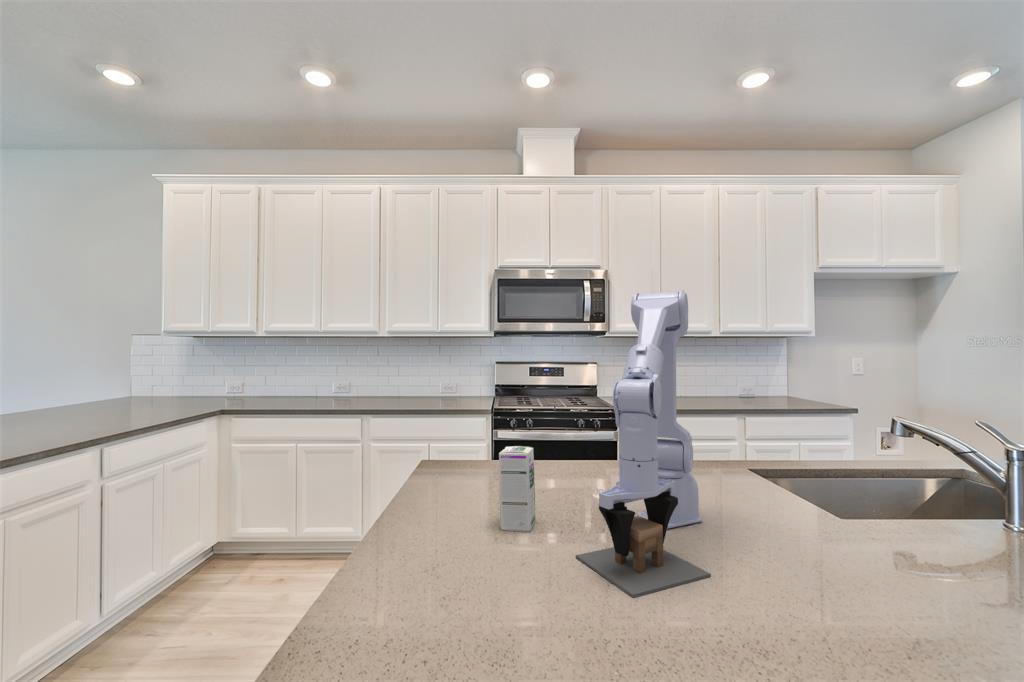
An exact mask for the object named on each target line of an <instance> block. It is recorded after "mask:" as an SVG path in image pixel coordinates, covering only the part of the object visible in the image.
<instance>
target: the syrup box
mask: <svg viewBox="0 0 1024 682" xmlns="http://www.w3.org/2000/svg"><path fill="white" fill-rule="evenodd" d="M534 458H535V456H534V447H532V446H527V445H526V446H524V445H514V446H505V447H504V449H502V450H501V451H500V452H499V453H498V463H499V464H498V467H499V468H498V471H499V473H498V474H499V476H498V477H499V504H500V505H499V509H500V510H499V511H500V512H499V513H500V516H499V517H500V519H499V520H500V529H501V530H502V531H510V532H528V533H530V532H531V530H532V528H533V527H534V524H535V523H536V495H535V494H536V491H535V490H536V489H535V461H534V460H535V459H534Z"/></svg>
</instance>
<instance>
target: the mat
mask: <svg viewBox="0 0 1024 682" xmlns="http://www.w3.org/2000/svg"><path fill="white" fill-rule="evenodd" d="M575 558H576V560H578V561H579V562H581V563H582V564H584V565H585V566H587V567H588V568H590V569H591V570H592V571H594V572H595V573H596V574H598V575H600V576H601V577H602V578H604V579H605V580H607V581H608V582H609V583H611V584H613V585H614V586H615V587H616V588H618V589H619V590H621V591H622V592H623V593H625V594H627V595H628V596H629V597H631V598H633V599H634V598H638V597H641V596H645V595H649V594H652V593H655V592H660V591H663V590H667V589H670V588H675V587H679V586H680V585H681V586H682V585H685V584H688V583H692V582H696V581H699V580H703V579H707V578H711V576H712V573H710V572H708V571H706V570H704V569H703V568H701V567H699V566H698V565H695V564H693V563H690V562H688V560H684V559H683V558H682V557H679V556H677V555H675V554H673V553H672V552H669V551H667V550H666V549H663V566H661V567H656V566H653V565H652V558H651V552H650V553H647V554H645V571H646V572H644V573H641V574H639V573H637V572H635V571H634V569H633V553H632V552H630V551H629V554H628V556H626V559H627V562H626V563H623V564H619V563H617V562H615V549H614V546H613V547H609V548H608V547H607V548H604V549H599V550H595V551H593V550H592V551H590V552H585V553H580V554H576V555H575Z"/></svg>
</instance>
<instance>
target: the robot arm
mask: <svg viewBox="0 0 1024 682" xmlns="http://www.w3.org/2000/svg"><path fill="white" fill-rule="evenodd" d="M630 301H631V302H630V314H631V320H632V322H633V324H634V325H635V328H636V330H637V331H638V332H637V333H638V334H637V341H636V342H637V344H635V345H633V346H632V347H631V348H630V349H629V351H628V354H627V358H626V362H625V367H624V370H623V374H622V378H621V379H620V380H619V381H616V382H615V383H614V385H613V392H612V404H613V405H612V406H613V411H614V416H615V426H616V427H617V428H618V472H619V473H618V474H619V475H618V477H619V478H618V479H619V481H616V482H615V486H613V487H611V488H609V489H607V490H604V491H602V492H599V493H598V510H599V512H600V513H601V515H602V517H603V518H604V521H605V522H606V525H607V528H608V530H609V533H610V536H611V540H612V543H613V547H614V549H615V552H616V553H618V554H620V555H622V556H628V554H629V549H630V531H631V526H632V522H633V518H634V517H636V516H639V517H642V518H645V519H647V520H650V521H653V522H655V523H658V524H661V525H663V544H664V542H665V538H666V535H667V531H668V529H672V528H677V527H682V526H687V525H692V524H696V523H701V522H703V518H701V517H700V514H699V513H700V508H699V505H700V504H699V502H700V501H699V485H698V482H697V480H696V478H695V477H694V475H693V474H691V472H692V471H693V468H694V448H693V447H694V446H693V440H692V439H693V437H692V435H691V433H690V431H688V430H687V429H686V428H684V427H683V426H682V425H681V424H679V423H678V421H677V346H678V342H679V339H680V338H681V337H684V336H686V335H687V334H688V329H689V299H688V294H687V293H686V292H685V290H683V289H680V290H679V291H661V292H648V293H647V292H646V293H637V292H635V294H634V295H633V296H632V298H631V300H630ZM663 438H664V439H663ZM667 438H668V439H667ZM675 439H676V440H675ZM641 500H643V502H644V506H645V510H646V511H645V512H641V513H637V515H636V512H635V511H633V510H630V509H628V508H627V506H626V504H628V503H632V502H633V503H634V502H637V501H641Z"/></svg>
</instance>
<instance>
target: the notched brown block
mask: <svg viewBox="0 0 1024 682" xmlns="http://www.w3.org/2000/svg"><path fill="white" fill-rule="evenodd" d="M663 550H664V543H663V525H661V524H658V523H655V522H653V521H650V520H647V519H645V518H642V517H639V516H637V515H635V516H634V518H633V522H632V526H631V531H630V549H629V551H630V552H632V553H633V569H634V571H635V572H637V573H639V574H641V573H644V572H646V571H645V554H647V553H650V552H651V558H652V565H653V566H656V567H661V566H663ZM615 562H617V563H619V564H623V563H626V562H627V559H626V556H622V555H620V554H618V553H616V552H615Z"/></svg>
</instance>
